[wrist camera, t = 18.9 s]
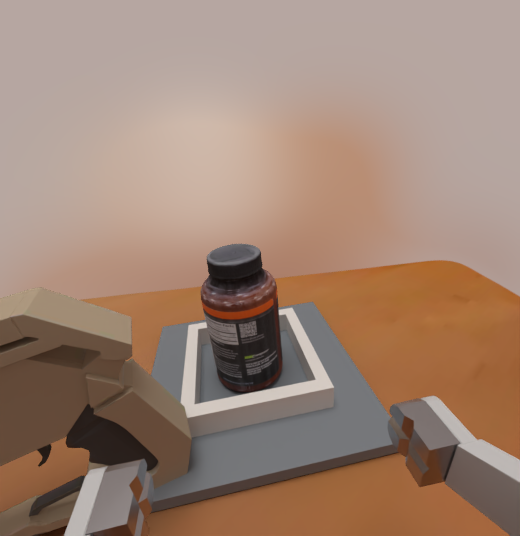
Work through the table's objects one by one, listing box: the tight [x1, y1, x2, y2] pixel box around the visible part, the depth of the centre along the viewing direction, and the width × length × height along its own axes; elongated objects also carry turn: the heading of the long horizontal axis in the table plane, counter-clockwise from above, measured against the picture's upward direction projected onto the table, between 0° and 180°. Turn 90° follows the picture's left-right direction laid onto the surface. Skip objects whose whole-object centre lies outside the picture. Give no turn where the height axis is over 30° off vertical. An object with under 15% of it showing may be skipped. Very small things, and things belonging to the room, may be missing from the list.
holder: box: [150, 302, 398, 513], centre depth 25 cm, size 18×18×3 cm
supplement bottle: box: [201, 244, 283, 392], centre depth 23 cm, size 6×6×11 cm
